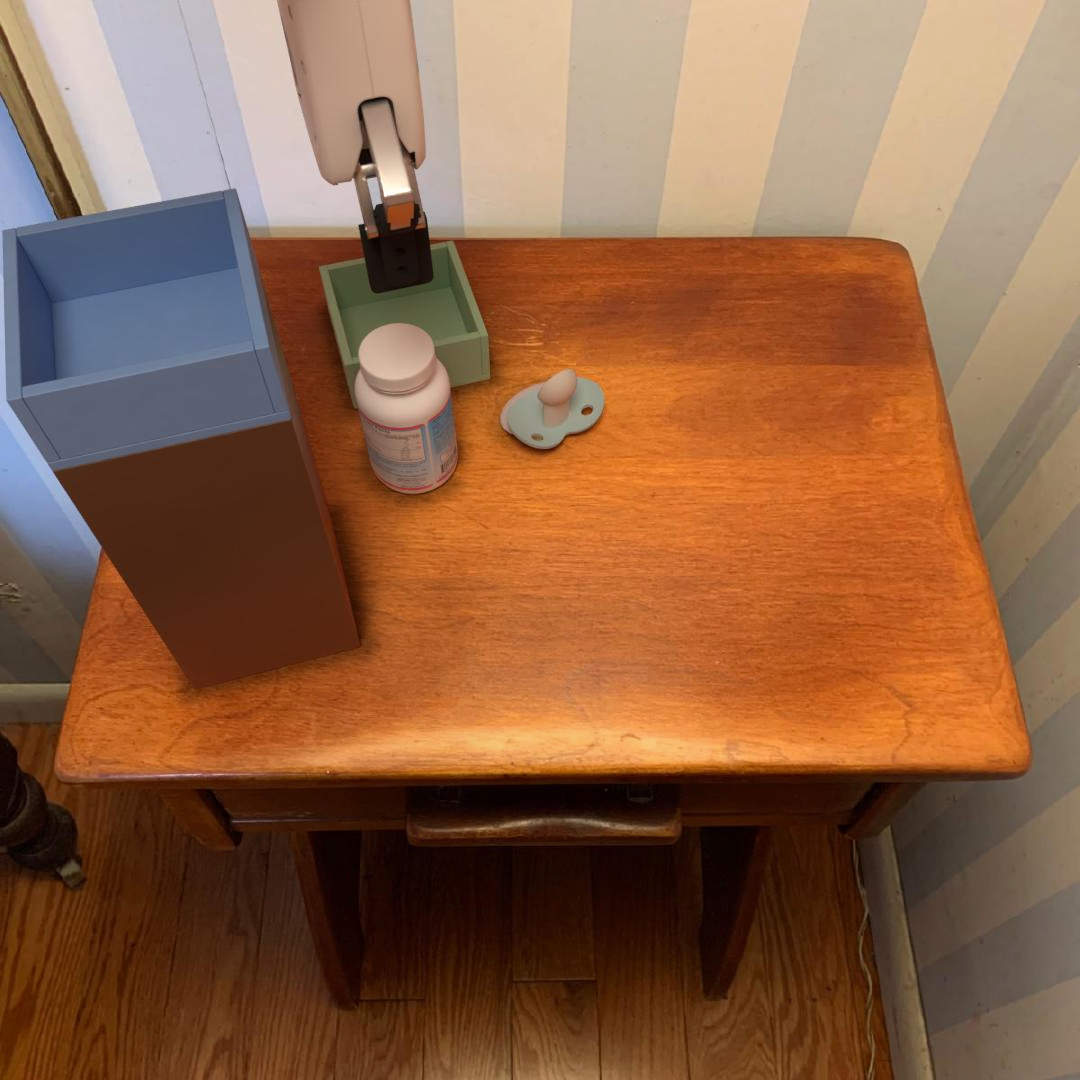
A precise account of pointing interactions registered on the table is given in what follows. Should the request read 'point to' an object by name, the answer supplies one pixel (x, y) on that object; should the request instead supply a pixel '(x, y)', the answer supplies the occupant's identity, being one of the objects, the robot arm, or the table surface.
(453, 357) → the green bin
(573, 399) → the pacifier
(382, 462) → the pill bottle
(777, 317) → the table surface
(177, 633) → the blue bin
